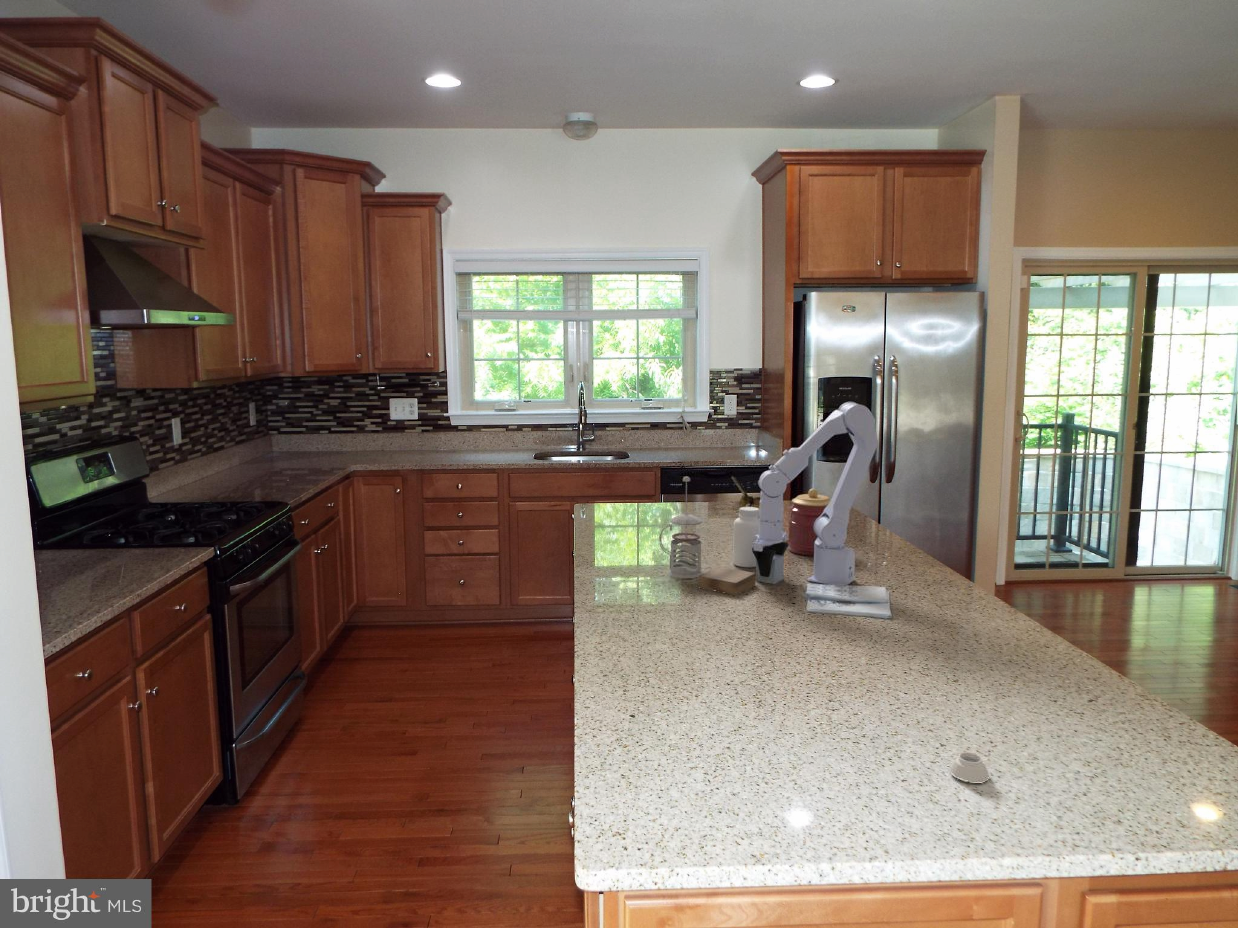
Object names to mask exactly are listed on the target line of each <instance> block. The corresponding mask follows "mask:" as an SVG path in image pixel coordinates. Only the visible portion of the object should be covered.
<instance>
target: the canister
mask: <svg viewBox="0 0 1238 928" xmlns="http://www.w3.org/2000/svg"><path fill="white" fill-rule="evenodd" d="M831 499H832V498H830V497H829V496H827V495H825V494H824V495H823V494H819V493H818V490H817V489H816V488H810V489H809V490H808V492H807V493H805V494H799V495H797V496H796V497H795V498H792V499H791V502H792V503H793V504H792V505H791V506H789V507H788V511H789V513H790V517H789V518H788V538H787V543H788V550H789V551H790V552H792V553H794V554H797V555H803V556H811V557H814V545H815V541H816V539H817V537H818V536H817V535H816V534H815V532H814V523H815V521H816V519H817V518H818V517H820V516H821V515H822V513H823V511H824V509H825V508H826V507H827V506H828V505H829V503H830V501H831Z"/></svg>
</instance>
